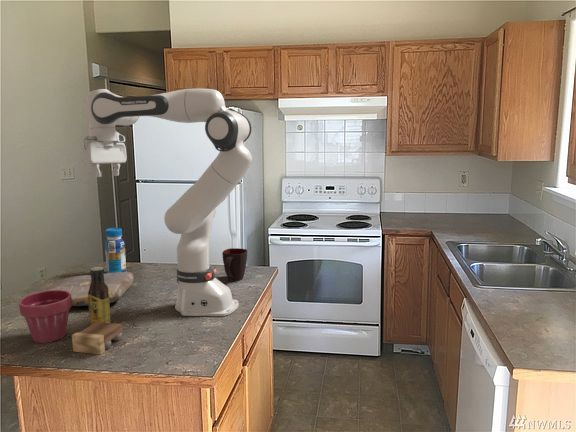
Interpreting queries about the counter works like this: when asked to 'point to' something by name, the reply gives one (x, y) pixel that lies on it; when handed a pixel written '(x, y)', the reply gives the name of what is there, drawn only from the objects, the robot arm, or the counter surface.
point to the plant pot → (46, 314)
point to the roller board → (96, 337)
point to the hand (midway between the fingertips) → (107, 176)
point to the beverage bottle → (115, 251)
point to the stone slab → (81, 284)
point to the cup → (235, 263)
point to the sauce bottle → (98, 297)
